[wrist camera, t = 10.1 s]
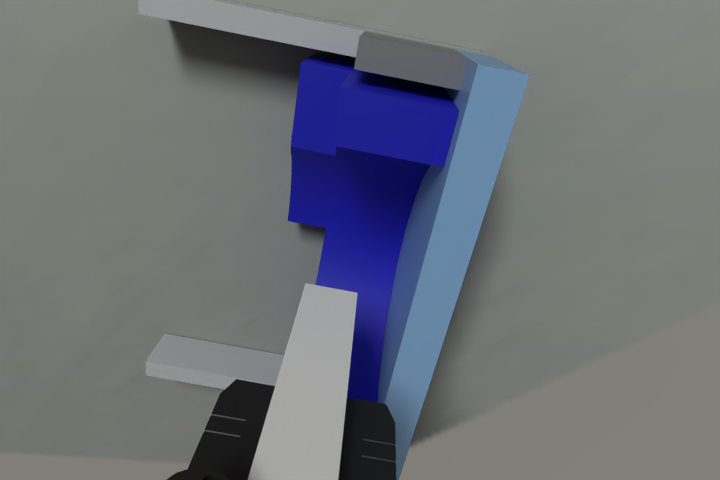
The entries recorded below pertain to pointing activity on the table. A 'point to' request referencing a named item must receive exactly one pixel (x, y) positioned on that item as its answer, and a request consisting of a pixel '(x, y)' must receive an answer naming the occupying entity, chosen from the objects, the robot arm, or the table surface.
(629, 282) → the table surface
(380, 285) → the blue arched bracket piece
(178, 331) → the table surface
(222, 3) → the blue wall bracket
